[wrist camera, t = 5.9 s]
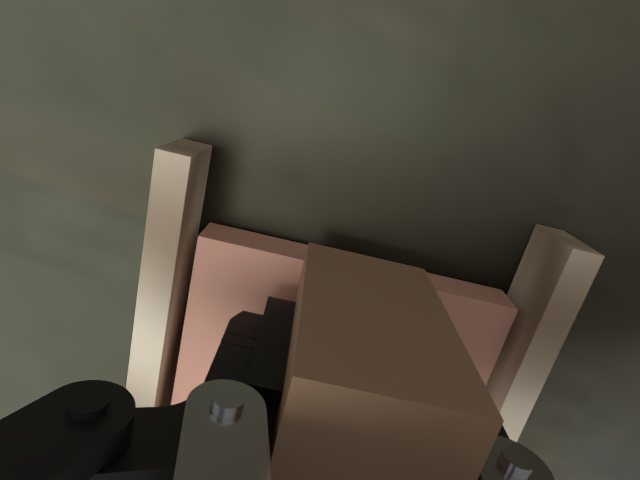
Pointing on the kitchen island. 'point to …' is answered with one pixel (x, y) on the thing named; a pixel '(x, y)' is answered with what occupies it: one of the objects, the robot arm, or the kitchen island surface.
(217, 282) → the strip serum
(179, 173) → the lane rails
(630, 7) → the kitchen island surface
